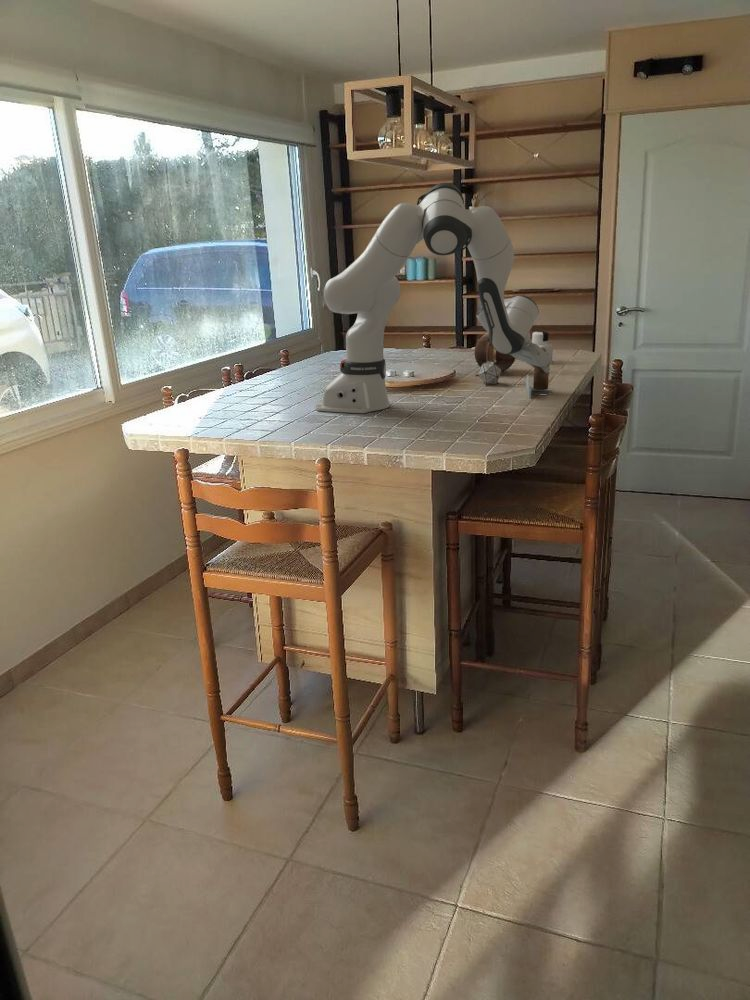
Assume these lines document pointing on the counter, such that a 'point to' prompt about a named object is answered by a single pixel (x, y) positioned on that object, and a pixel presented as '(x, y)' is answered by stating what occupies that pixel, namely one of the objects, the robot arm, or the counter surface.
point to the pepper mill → (540, 377)
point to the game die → (489, 372)
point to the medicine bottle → (542, 342)
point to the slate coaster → (541, 391)
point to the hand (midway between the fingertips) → (543, 369)
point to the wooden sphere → (491, 354)
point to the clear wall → (528, 386)
